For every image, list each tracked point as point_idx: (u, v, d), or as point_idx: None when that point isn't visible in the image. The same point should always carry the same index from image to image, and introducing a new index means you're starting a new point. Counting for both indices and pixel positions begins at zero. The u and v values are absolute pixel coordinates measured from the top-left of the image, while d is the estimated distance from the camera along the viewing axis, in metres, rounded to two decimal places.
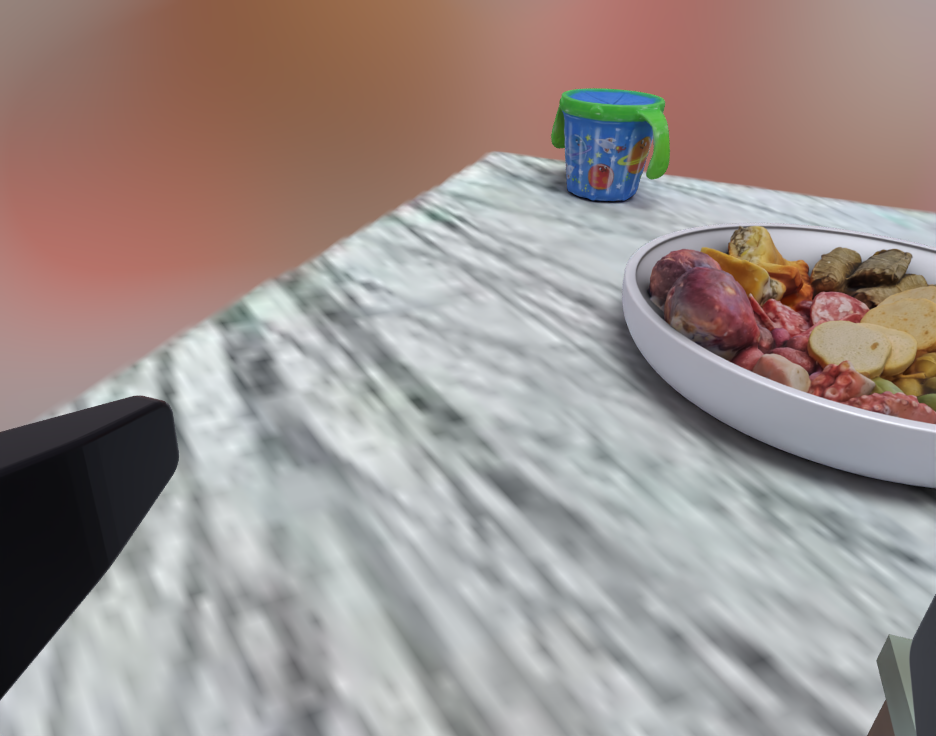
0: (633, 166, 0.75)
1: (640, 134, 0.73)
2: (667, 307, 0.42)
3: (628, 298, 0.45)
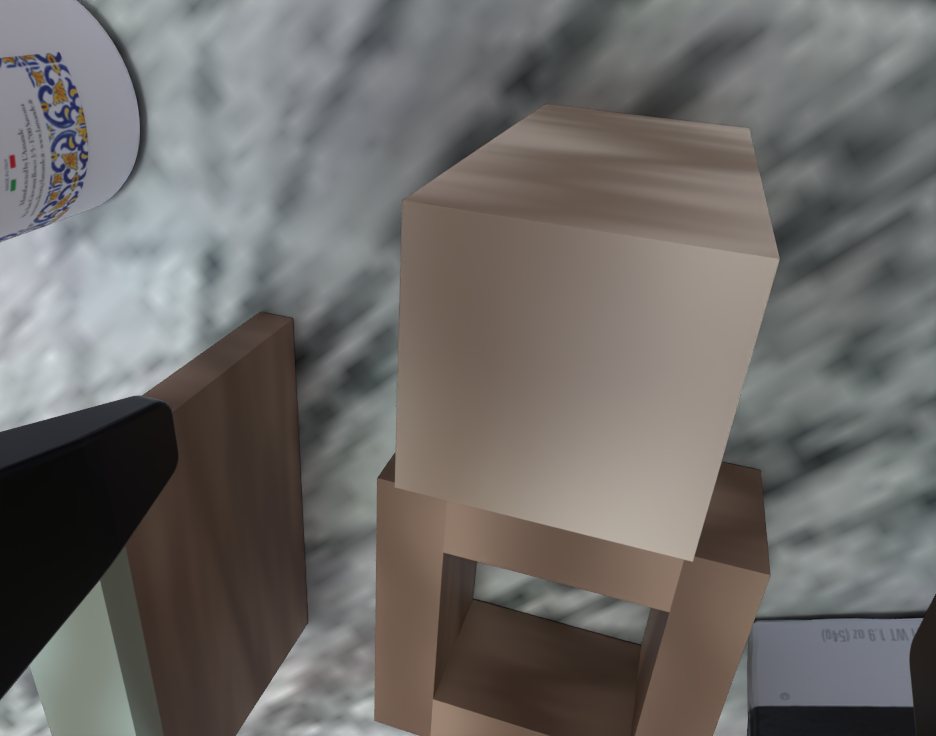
0: None
1: None
2: None
3: None
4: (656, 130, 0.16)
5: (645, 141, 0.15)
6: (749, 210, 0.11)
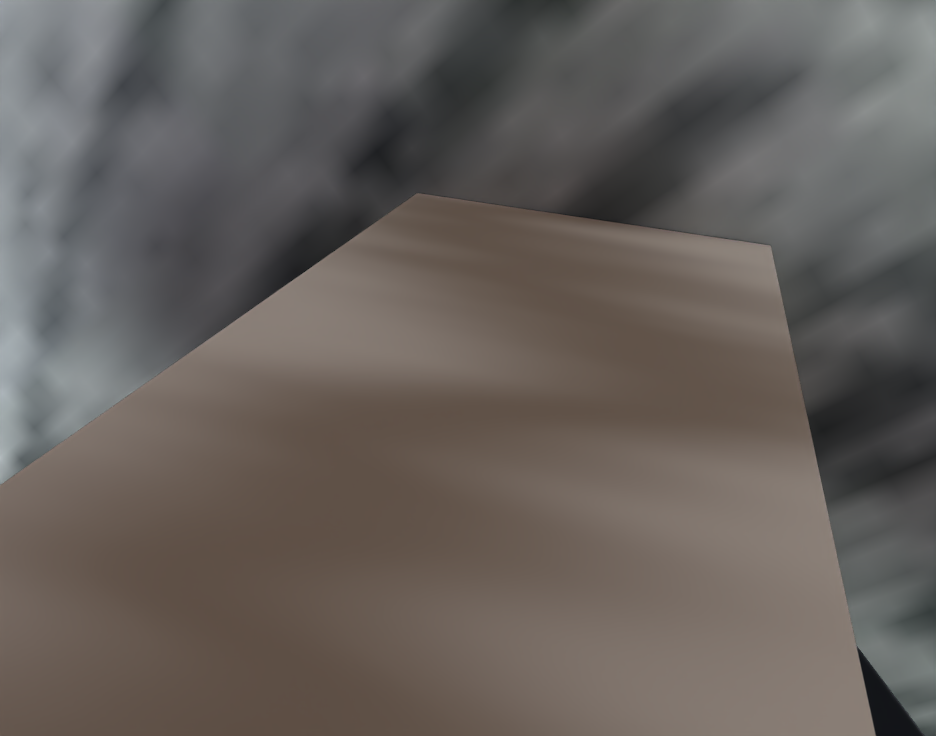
0: None
1: None
2: None
3: None
4: (596, 267, 0.09)
5: (564, 312, 0.07)
6: None
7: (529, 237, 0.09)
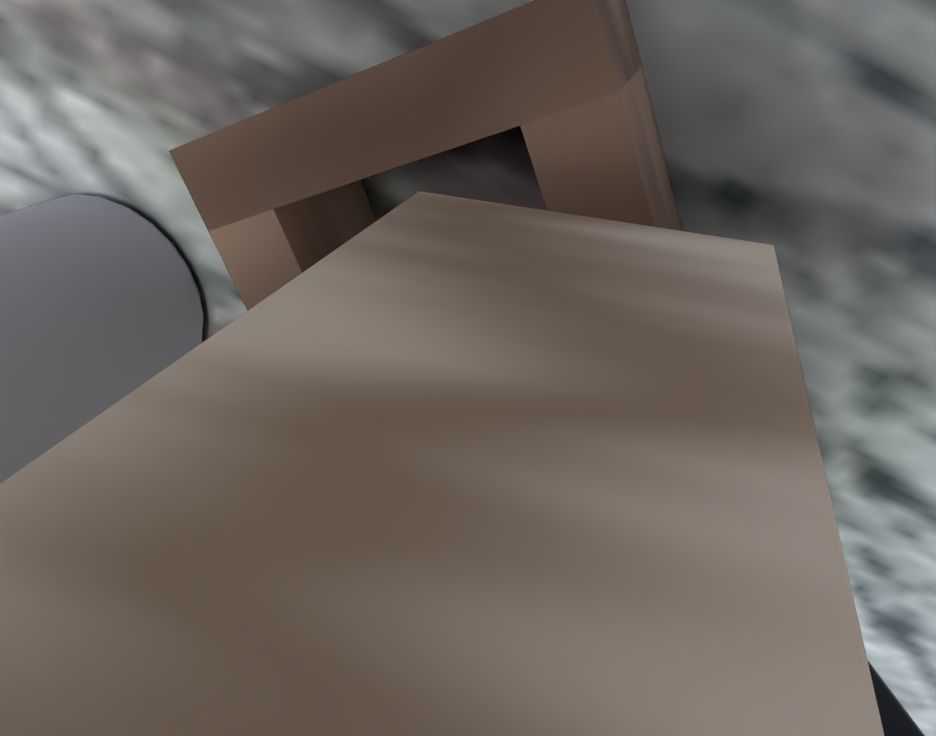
0: None
1: None
2: None
3: None
4: (599, 266, 0.09)
5: (567, 311, 0.07)
6: None
7: (532, 236, 0.09)
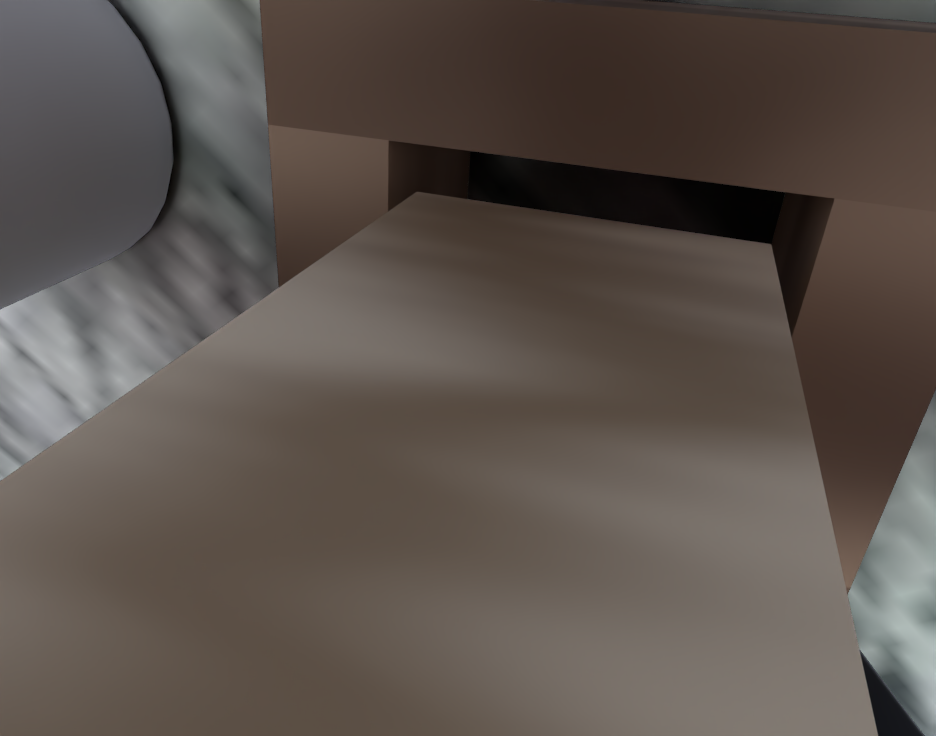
0: None
1: None
2: None
3: None
4: (596, 265, 0.09)
5: (564, 311, 0.07)
6: None
7: (529, 236, 0.09)
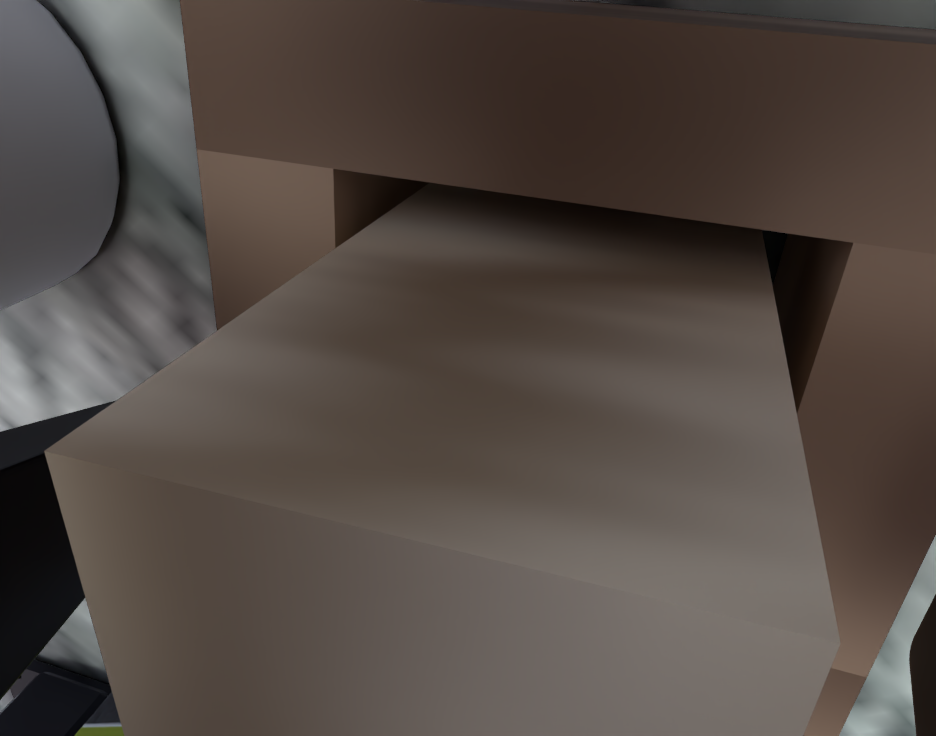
0: None
1: None
2: None
3: None
4: None
5: (595, 227, 0.10)
6: (761, 419, 0.06)
7: None
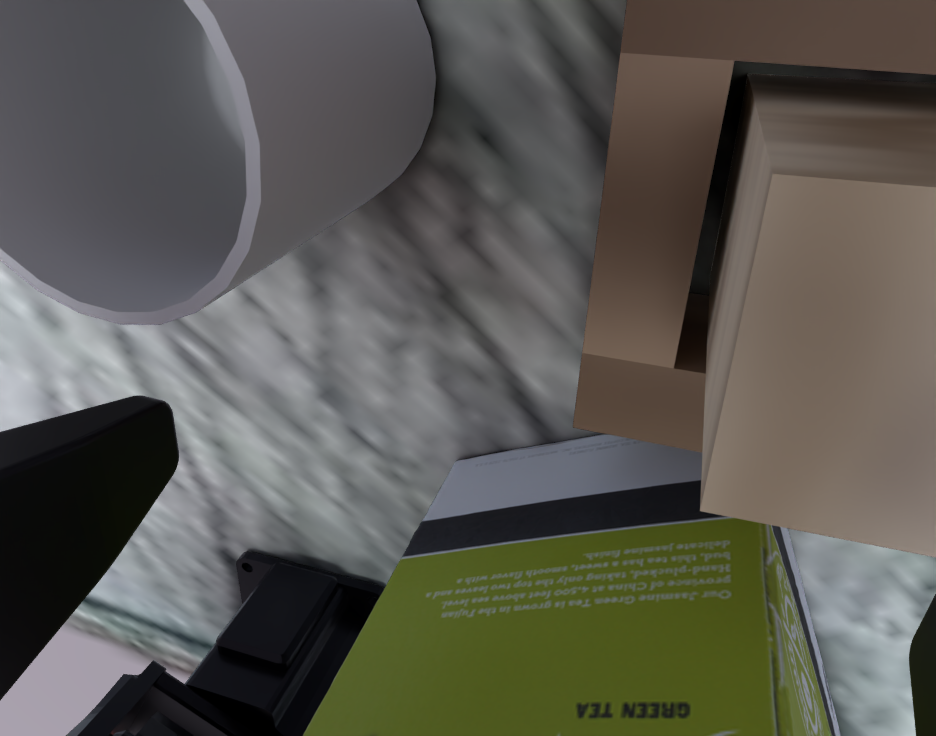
0: None
1: None
2: None
3: None
4: (905, 92, 0.15)
5: (914, 103, 0.13)
6: None
7: (848, 85, 0.15)
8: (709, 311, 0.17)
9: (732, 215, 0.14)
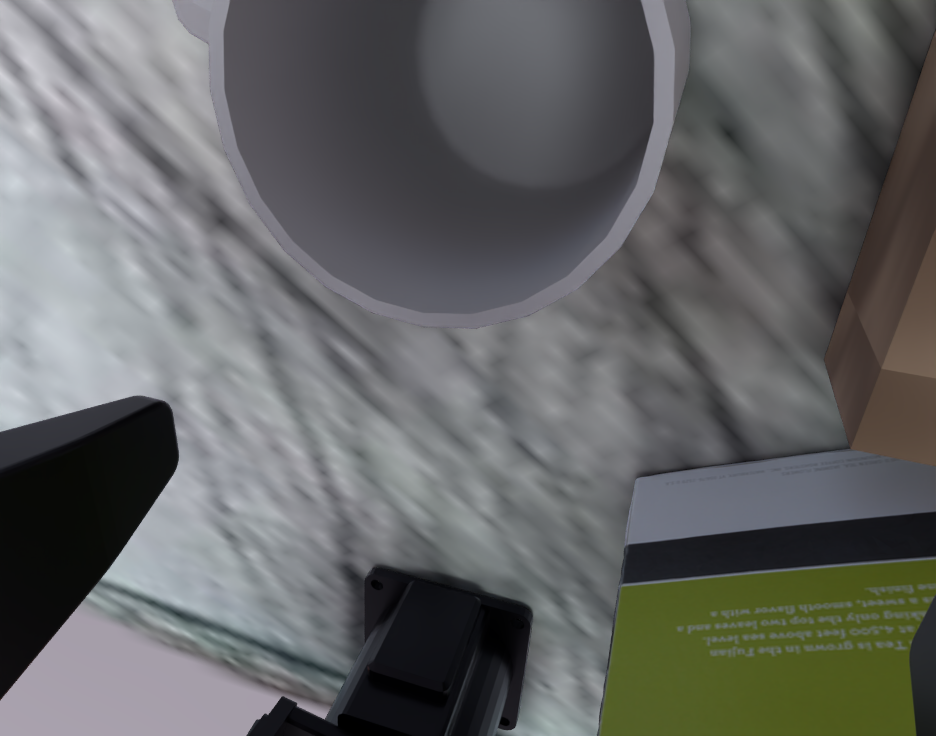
0: None
1: None
2: None
3: None
4: None
5: None
6: None
7: None
8: None
9: None
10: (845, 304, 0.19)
